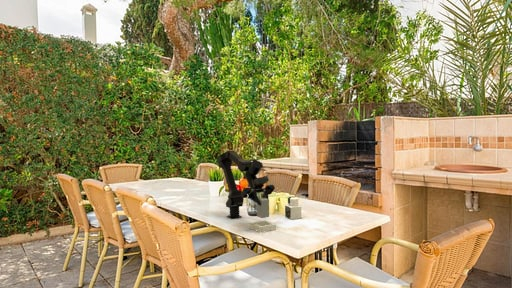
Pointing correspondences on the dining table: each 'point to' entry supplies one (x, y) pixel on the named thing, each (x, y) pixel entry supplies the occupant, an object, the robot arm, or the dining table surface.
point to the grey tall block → (263, 208)
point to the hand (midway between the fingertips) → (264, 204)
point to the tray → (263, 226)
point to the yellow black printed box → (293, 208)
